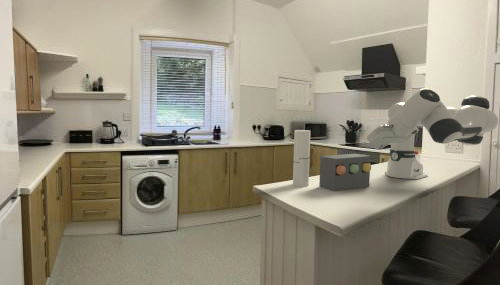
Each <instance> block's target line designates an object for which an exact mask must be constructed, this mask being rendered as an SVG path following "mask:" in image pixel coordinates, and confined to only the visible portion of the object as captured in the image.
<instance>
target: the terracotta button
mask: <svg viewBox="0 0 500 285" xmlns="http://www.w3.org/2000/svg"><path fill="white" fill-rule="evenodd" d="M345 172H346V168H345V167H344V166H341V165H336V174H339V175H344V174H345Z"/></svg>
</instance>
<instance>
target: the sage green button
mask: <svg viewBox="0 0 500 285" xmlns="http://www.w3.org/2000/svg"><path fill="white" fill-rule="evenodd" d="M358 171H359V166H358V165H356V164H350V165H349V172H350V173H354V174H356V173H357V172H358Z"/></svg>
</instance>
